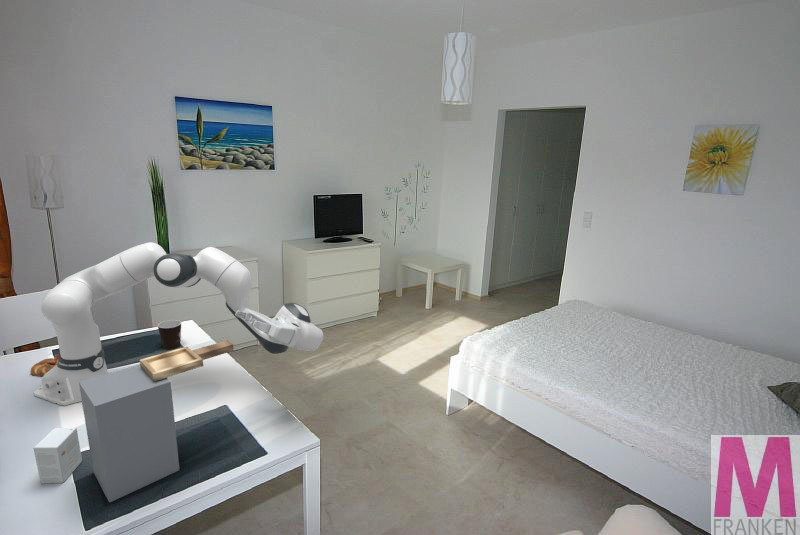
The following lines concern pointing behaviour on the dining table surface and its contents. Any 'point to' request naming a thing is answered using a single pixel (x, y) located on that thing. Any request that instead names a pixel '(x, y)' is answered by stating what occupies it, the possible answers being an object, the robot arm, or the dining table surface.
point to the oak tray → (181, 360)
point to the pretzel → (43, 367)
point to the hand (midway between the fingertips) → (244, 318)
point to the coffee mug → (170, 334)
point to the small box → (58, 455)
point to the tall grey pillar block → (129, 430)
